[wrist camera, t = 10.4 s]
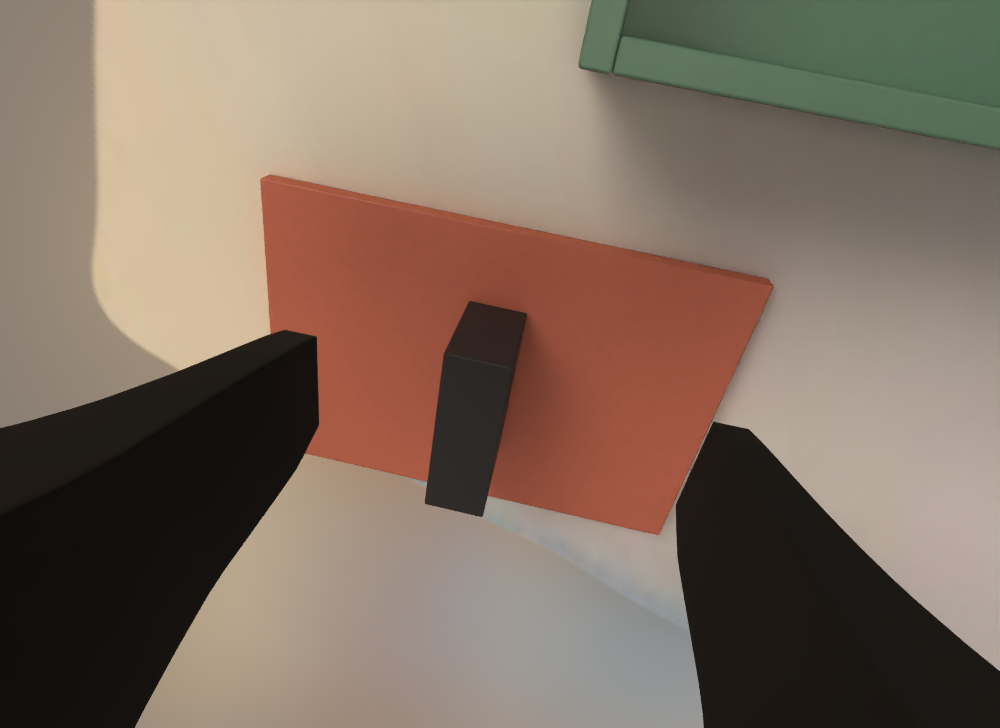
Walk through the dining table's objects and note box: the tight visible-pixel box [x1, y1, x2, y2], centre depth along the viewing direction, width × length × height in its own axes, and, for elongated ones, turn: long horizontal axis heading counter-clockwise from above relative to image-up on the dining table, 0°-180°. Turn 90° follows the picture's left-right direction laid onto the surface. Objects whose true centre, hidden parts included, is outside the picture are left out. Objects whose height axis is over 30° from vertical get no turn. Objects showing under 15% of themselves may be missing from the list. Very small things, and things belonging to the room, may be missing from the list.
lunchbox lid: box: [261, 175, 773, 535], centre depth 19 cm, size 16×11×4 cm
